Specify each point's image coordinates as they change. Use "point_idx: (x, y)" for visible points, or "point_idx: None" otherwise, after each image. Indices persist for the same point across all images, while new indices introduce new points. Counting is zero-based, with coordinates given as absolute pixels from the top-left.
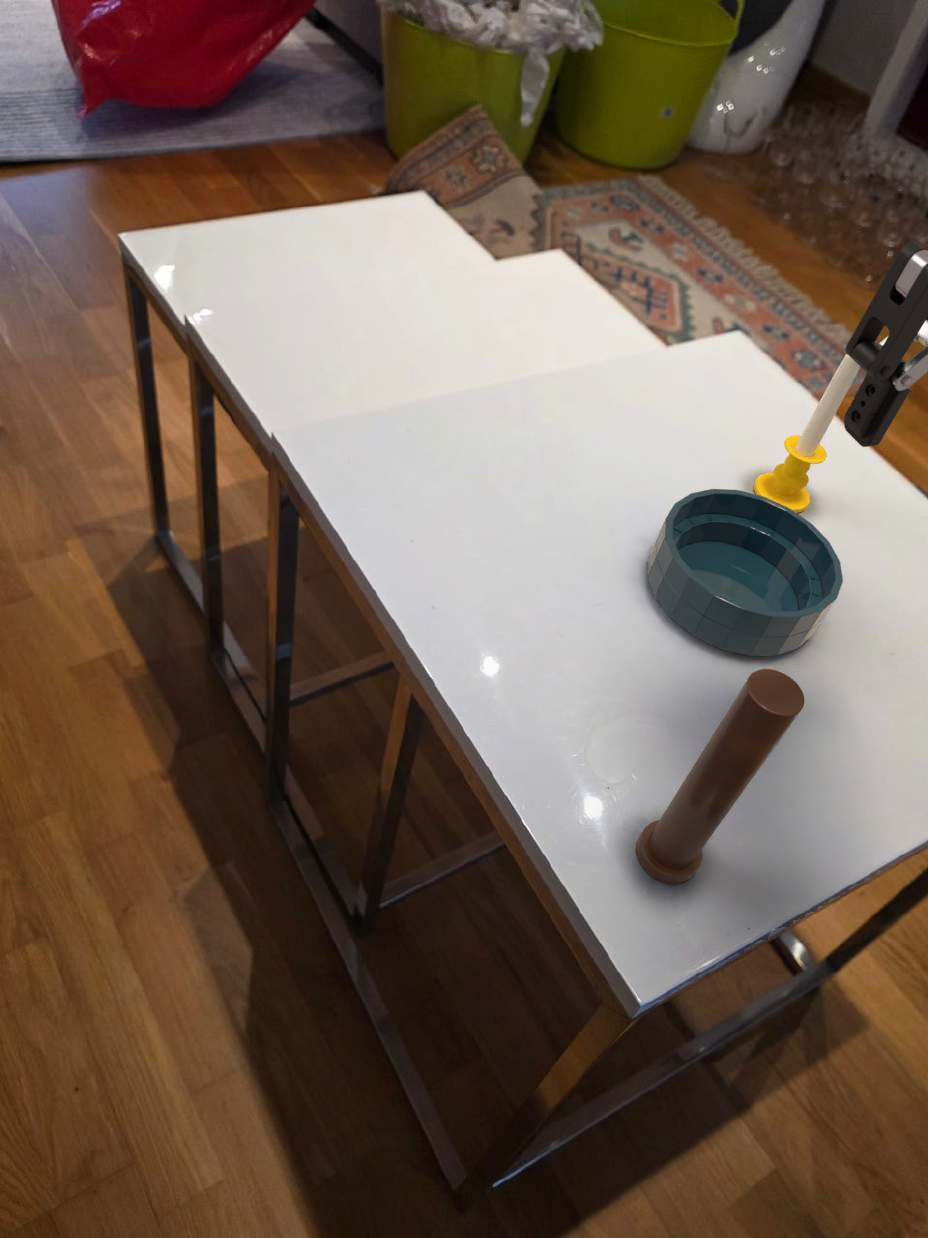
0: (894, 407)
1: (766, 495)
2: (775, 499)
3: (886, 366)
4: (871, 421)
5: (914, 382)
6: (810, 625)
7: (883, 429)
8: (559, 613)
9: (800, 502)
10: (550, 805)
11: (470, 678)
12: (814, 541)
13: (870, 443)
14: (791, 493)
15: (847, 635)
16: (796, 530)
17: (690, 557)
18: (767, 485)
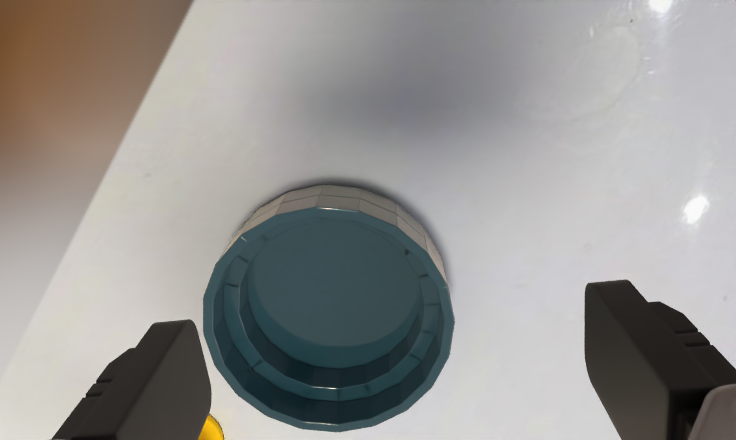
0: (667, 348)
1: (214, 434)
2: (204, 427)
3: None
4: (672, 330)
5: (704, 409)
6: (285, 204)
7: (626, 305)
8: (574, 277)
9: None
10: (713, 6)
11: (726, 194)
12: (219, 337)
13: (627, 281)
14: None
15: (198, 210)
16: (232, 360)
17: (368, 344)
18: None
